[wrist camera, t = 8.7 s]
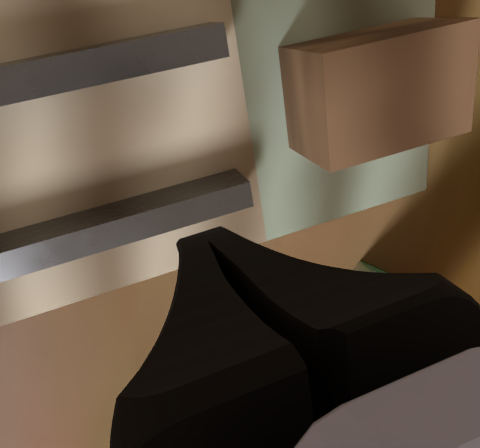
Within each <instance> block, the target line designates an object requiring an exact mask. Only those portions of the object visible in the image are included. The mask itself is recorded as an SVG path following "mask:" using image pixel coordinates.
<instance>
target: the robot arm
mask: <svg viewBox="0 0 480 448" xmlns="http://www.w3.org/2000/svg"><path fill="white" fill-rule="evenodd" d="M176 246H177V250H178V253H179V265H178V276H177V282H176V287H175V292H174V296H173V300H172V304H171V307H170V310H169V313H168V316H167V319H166V321H165V323H164V326H163V328H162V330H161V333H160V335H159V337H158V339H157V341H156V343H155V345H154V347H153V348H152V350H151V352H150V353H149V355H148V357H147V358H146V360H145V362H144V363H143V365H142V366H141V368H140V369H139V371H138V372H137V373H136V375H135V376H134V377H133V378H132V380H131V381H130V382H129V383H128V385H127V386H126V387H125V388H124V390H123V391H122V392H121V393H120V394H119V395H118V397H117V399H116V403H115V409H114V414H113V420H112V428H111V436H110V448H480V305H479V304H478V303H477V302H476V301H475V300H474V299H473V298H472V297H471V296H470V295H469V294H467V293H466V292H464V291H463V290H462V289H460V288H459V287H457V286H456V285H454V284H453V283H451V282H450V281H449V280H447V279H446V278H444V277H443V276H441V275H440V274H438V273H379V272H365V271H356V270H348V269H342V268H335V267H330V266H325V265H320V264H316V263H312V262H308V261H304V260H300V259H297V258H293V257H290V256H287V255H285V254H282V253H279V252H276V251H274V250H271V249H269V248H266V247H264V246H261V245H259V244H257V243H255V242H252V241H250V240H248V239H246V238H244V237H242V236H240V235H238V234H236V233H234V232H232V231H230V230H228V229H226V228H224V227H222V226H219V227H216V228H212V229H209V230H206V231H203V232H200V233H196V234H193V235H190V236H187V237H184V238H181V239H179V240H178V241H177V243H176Z"/></svg>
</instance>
